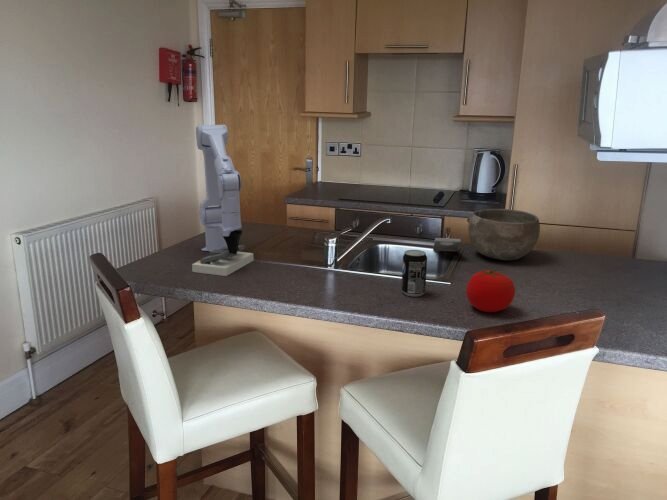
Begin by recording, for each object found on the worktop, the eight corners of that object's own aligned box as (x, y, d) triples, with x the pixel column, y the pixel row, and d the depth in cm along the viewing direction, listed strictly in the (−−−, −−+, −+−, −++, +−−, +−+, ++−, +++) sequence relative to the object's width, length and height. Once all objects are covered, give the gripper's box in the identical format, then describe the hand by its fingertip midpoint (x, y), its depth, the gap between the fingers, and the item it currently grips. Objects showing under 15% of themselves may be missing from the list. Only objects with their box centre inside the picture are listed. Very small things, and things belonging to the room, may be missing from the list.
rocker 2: (215, 252, 180) (215, 249, 180) (237, 254, 178) (236, 250, 178) (209, 255, 177) (209, 252, 177) (231, 257, 175) (231, 253, 174)
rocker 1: (207, 260, 176) (205, 256, 176) (227, 255, 173) (226, 252, 172) (200, 263, 172) (199, 259, 172) (221, 258, 169) (220, 255, 169)
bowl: (468, 265, 182) (472, 220, 178) (461, 246, 205) (463, 206, 201) (544, 268, 179) (549, 223, 175) (527, 248, 202) (532, 208, 198)
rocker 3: (224, 250, 186) (223, 247, 185) (244, 248, 183) (244, 244, 183) (218, 253, 182) (218, 249, 182) (239, 251, 179) (238, 247, 179)
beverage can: (407, 287, 159) (408, 248, 156) (428, 292, 156) (431, 251, 153) (397, 294, 154) (399, 253, 151) (419, 299, 151) (421, 257, 147)
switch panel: (222, 256, 189) (221, 247, 188) (253, 260, 185) (253, 251, 184) (192, 271, 172) (191, 261, 171) (226, 276, 168) (225, 265, 168)
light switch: (457, 246, 198) (461, 236, 184) (456, 262, 197) (460, 253, 183) (433, 245, 199) (435, 235, 185) (432, 261, 198) (434, 252, 184)
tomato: (466, 299, 151) (469, 262, 148) (512, 304, 147) (516, 267, 144) (463, 314, 140) (466, 275, 137) (513, 320, 137) (517, 280, 134)
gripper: (225, 207, 180) (227, 248, 183) (211, 215, 166) (214, 259, 169) (246, 207, 179) (248, 248, 182) (234, 216, 165) (236, 259, 168)
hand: (233, 253), depth 176 cm, fingers closed, pressing on rocker 2
